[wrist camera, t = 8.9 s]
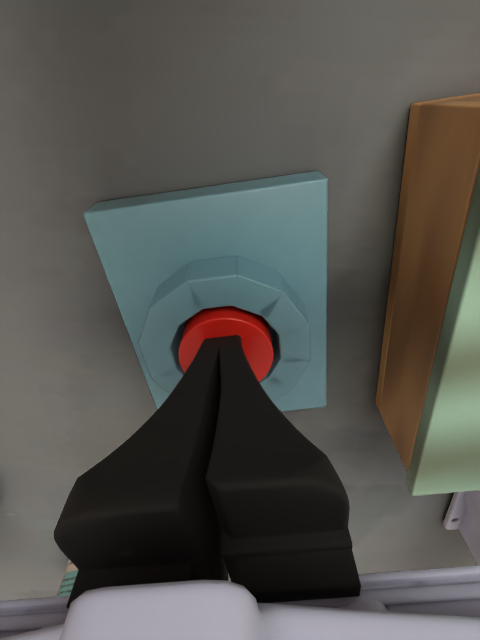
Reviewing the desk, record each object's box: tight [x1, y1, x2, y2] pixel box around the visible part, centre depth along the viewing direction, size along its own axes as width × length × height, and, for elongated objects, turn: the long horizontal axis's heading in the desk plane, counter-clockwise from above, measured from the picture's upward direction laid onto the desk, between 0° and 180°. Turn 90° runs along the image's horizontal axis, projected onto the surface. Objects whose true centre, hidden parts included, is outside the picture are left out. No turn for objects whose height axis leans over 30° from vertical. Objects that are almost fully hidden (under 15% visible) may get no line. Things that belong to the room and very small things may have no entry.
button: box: [178, 306, 274, 381], centre depth 14 cm, size 4×4×2 cm
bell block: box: [83, 171, 328, 411], centre depth 15 cm, size 11×8×3 cm
